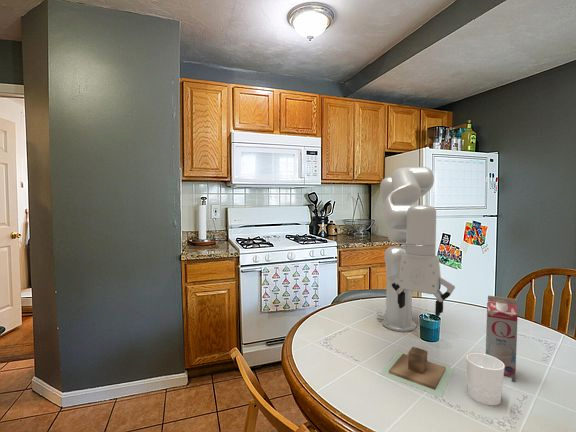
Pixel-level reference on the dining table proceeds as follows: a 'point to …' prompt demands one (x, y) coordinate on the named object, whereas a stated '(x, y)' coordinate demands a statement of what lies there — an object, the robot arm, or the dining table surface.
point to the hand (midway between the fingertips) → (419, 310)
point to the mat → (438, 391)
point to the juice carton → (502, 332)
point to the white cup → (485, 378)
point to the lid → (418, 368)
